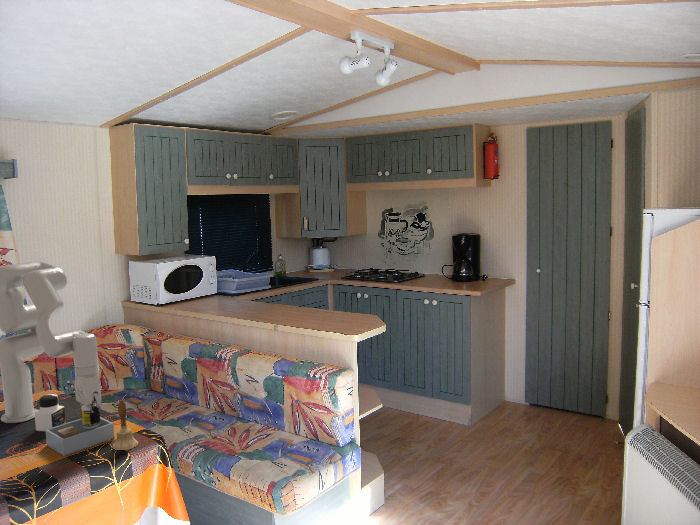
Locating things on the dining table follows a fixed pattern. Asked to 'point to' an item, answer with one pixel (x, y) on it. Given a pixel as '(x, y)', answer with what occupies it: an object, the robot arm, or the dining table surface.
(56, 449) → the tote
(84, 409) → the supplement bottle
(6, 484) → the dining table surface
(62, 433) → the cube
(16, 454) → the dining table surface
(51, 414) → the medicine bottle
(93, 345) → the robot arm
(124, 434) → the hand bell
